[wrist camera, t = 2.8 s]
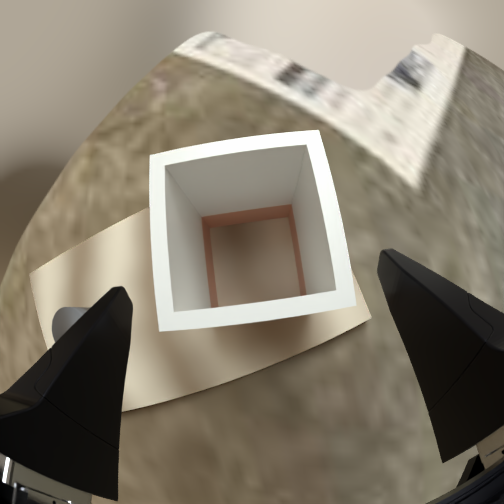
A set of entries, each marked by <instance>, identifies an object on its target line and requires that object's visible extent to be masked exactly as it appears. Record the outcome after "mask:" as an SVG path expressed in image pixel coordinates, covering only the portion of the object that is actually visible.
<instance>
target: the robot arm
mask: <svg viewBox="0 0 504 504" xmlns="http://www.w3.org/2000/svg"><path fill="white" fill-rule="evenodd" d="M377 273H378V277H379V280H380V283H381V285H382V288H383V291H384V294H385V297H386V301H387V304H388V307H389V309H390V312H391V315H392V317H393V319H394V321H395V324H396V326H397V329H398V331H399V333H400V336H401V338H402V341H403V343H404V345H405V348H406V350H407V353H408V356H409V358H410V361H411V363H412V366H413V369H414V371H415V374H416V377H417V380H418V383H419V385H420V388H421V391H422V394H423V397H424V400H425V403H426V406H427V410H428V412H429V416H430V420H431V423H432V427H433V430H434V434H435V437H436V441H437V445H438V448H439V452H440V456H441V460H442V463H444V462H446V461H448V460H450V459H452V458H454V457H456V456H457V455H459V454H461V453H463V452H465V451H466V450H468V449H470V448H471V447H473V446H475V445H476V447H477V450H478V453H479V454H477V455H476V456H474V457H473V458H471V459H469V460H468V463H467V465H466V467H465V470H464V472H463V474H462V477H461V479H460V481H459V483H458V485H457V487H456V488H455V489H453V490H451V491H450V492H448V493H446V494H444V495H442V496H440V497H438V498H436V499H434V500H432V501H430V502H428V503H426V504H504V313H502V312H500V311H499V310H497V309H495V308H493V307H491V306H490V305H488V304H486V303H485V302H483V301H481V300H480V299H478V298H476V297H475V296H473V295H472V294H470V293H467V291H465V290H464V289H462V288H460V287H459V286H457V285H455V284H454V283H452V282H450V281H449V280H447V279H445V278H444V277H442V276H440V275H439V274H437V273H435V272H433V271H432V270H430V269H428V268H426V267H425V266H423V265H421V264H419V263H418V262H416V261H414V260H412V259H410V258H409V257H407V256H405V255H403V254H401V253H399V252H398V251H396V250H394V249H384V250H382V251H381V252H380V256H379V262H378V268H377ZM132 317H133V304H132V301H131V299H130V297H129V295H128V293H127V291H126V289H125V288H124V287H123V286H115V287H112V288H111V289H110V290H109V291H108V292H107V293H105V294H104V295H103V296H102V297H101V298H100V299H99V300H98V301H97V302H96V303H95V304H94V305H93V306H92V307H91V308H90V309H89V310H87V311H86V312H85V313H84V314H83V315H82V316H81V317H80V318H79V319H78V320H77V321H76V322H75V323H74V324H73V325H72V326H71V327H70V328H69V329H68V330H67V331H66V332H65V333H64V334H63V335H62V336H61V337H60V338H59V339H58V340H57V341H56V342H55V343H54V344H53V345H52V348H50V349H49V350H48V351H47V352H46V353H45V354H44V355H43V356H42V357H41V358H40V359H39V360H38V361H37V362H36V363H35V364H34V365H33V366H32V367H31V368H30V369H29V370H28V371H27V372H26V373H25V374H24V375H23V376H22V377H20V378H19V379H18V380H17V381H16V382H15V383H14V384H13V385H12V386H11V387H10V388H9V389H8V390H7V391H5V392H4V393H2V394H0V504H91V501H92V495H96V496H99V497H103V498H106V499H110V500H114V501H118V463H119V450H118V449H119V439H120V425H121V414H122V404H123V395H124V386H125V378H126V371H127V364H128V358H129V351H130V344H131V330H132Z"/></svg>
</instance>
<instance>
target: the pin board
mask: <svg viewBox="0 0 504 504" xmlns="http://www.w3.org/2000/svg"><path fill="white" fill-rule="evenodd" d="M210 238H211V247H212V257H213V265H214V274H215V283H216V291H217V299H218V307H225V306H233V305H241V304H249V303H257V302H264V301H271V300H278V299H285V298H292V297H298V296H301V294H300V287H299V281H298V274H297V267H296V261H295V255H294V248H293V242H292V236H291V230H290V225H289V219H288V217H284V218H277V219H269V220H262V221H255V222H248V223H241V224H234V225H227V226H220V227H214V228H210ZM351 272H352V269H351ZM29 275H30V281H31V286H32V291H33V296H34V300H35V305H36V309H37V313H38V317H39V321H40V325H41V329H42V332H43V336H44V339H45V342H46V345H47V349H48V350H49V349H50V348H52V345H53V344H54V343H55V342H56V341H57V340H58V339H59V338H60V337H61V336H62V335H63V334H64V333H65V332H66V331H67V330H68V329H69V328H70V327H71V326H72V325H73V324H74V323H75V322H76V321H77V320H78V319H79V318H80V317H81V316H82V315H83V314H84V313H85V312H86V311H87V310H89V309H90V308H91V307H92V306H93V305H94V304H95V303H96V302H97V301H98V300H99V299H100V298H101V297H102V296H103V295H104V294H105V293H107V292H108V291H109V290H110V289H111V288H112V287H115V286H123V287H124V288H125V289H126V291H127V293H128V295H129V297H130V299H131V301H132V304H133V317H132V330H131V344H130V351H129V358H128V364H127V371H126V378H125V386H124V395H123V404H122V412H123V411H128V410H132V409H137V408H141V407H145V406H149V405H153V404H157V403H161V402H164V401H168V400H171V399H175V398H178V397H182V396H185V395H189V394H192V393H195V392H198V391H202V390H205V389H208V388H211V387H214V386H217V385H220V384H223V383H226V382H228V381H231V380H234V379H237V378H240V377H242V376H245V375H248V374H250V373H253V372H255V371H258V370H261V369H263V368H266V367H268V366H271V365H273V364H276V363H278V362H280V361H283V360H285V359H288V358H290V357H292V356H294V355H297V354H299V353H301V352H304V351H306V350H308V349H310V348H312V347H315V346H317V345H319V344H321V343H323V342H325V341H327V340H329V339H331V338H334V337H336V336H338V335H340V334H342V333H344V332H346V331H348V330H350V329H351V328H353V327H355V326H357V325H359V324H361V323H363V322H365V321H367V320H369V319H370V318H372V317H371V315H370V312H369V310H368V307H367V305H366V302H365V300H364V297H363V295H362V293H361V290H360V288H359V286H358V283H357V281H356V279H355V276H354V274H353V272H352V278H353V284H354V291H355V298H356V305H357V306H352V307H346V308H341V309H336V310H330V311H325V312H319V313H313V314H307V315H301V316H295V317H288V318H282V319H275V320H268V321H260V322H253V323H245V324H236V325H228V326H219V327H209V328H199V329H188V330H175V331H162V332H159V325H158V317H157V309H156V299H155V289H154V278H153V266H152V251H151V232H150V207H148V208H146V209H144V210H142V211H140V212H138V213H136V214H134V215H132V216H130V217H128V218H126V219H124V220H122V221H120V222H118V223H116V224H114V225H113V226H111V227H109V228H107V229H105V230H103V231H101V232H99V233H98V234H96V235H94V236H92V237H90V238H89V239H87V240H85V241H83V242H82V243H80V244H78V245H76V246H75V247H73V248H71V249H69V250H68V251H66V252H64V253H63V254H61V255H59V256H58V257H56V258H54V259H53V260H51V261H49V262H48V263H46V264H45V265H43V266H41V267H40V268H38V269H37V270H35V271H33V272H32V273H30V274H29Z"/></svg>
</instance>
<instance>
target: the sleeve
mask: <svg viewBox="0 0 504 504" xmlns="http://www.w3.org/2000/svg"><path fill="white" fill-rule="evenodd" d="M284 217H288V219H289V225H290V230H291V236H292V242H293V248H294V255H295V261H296V267H297V274H298V281H299V287H300V294H301V296H298V297H292V298H285V299H278V300H271V301H264V302H257V303H249V304H241V305H233V306H225V307H218V299H217V291H216V283H215V274H214V265H213V257H212V247H211V238H210V228H214V227H220V226H227V225H234V224H241V223H248V222H255V221H262V220H269V219H277V218H284ZM150 232H151V251H152V266H153V278H154V289H155V299H156V309H157V317H158V325H159V332H162V331H175V330H188V329H199V328H209V327H219V326H228V325H236V324H245V323H253V322H260V321H268V320H275V319H282V318H288V317H295V316H301V315H307V314H313V313H319V312H325V311H330V310H336V309H341V308H346V307H352V306H357V305H356V298H355V291H354V284H353V278H352V272H351V266H350V260H349V255H348V249H347V244H346V239H345V234H344V229H343V224H342V219H341V215H340V210H339V206H338V201H337V197H336V193H335V188H334V184H333V180H332V176H331V172H330V169H329V165H328V161H327V157H326V154H325V150H324V147H323V143H322V140H321V136H320V133H319V130H312V131H299V132H287V133H277V134H268V135H259V136H252V137H244V138H237V139H230V140H224V141H218V142H212V143H206V144H201V145H196V146H190V147H185V148H180V149H176V150H171V151H167V152H162V153H158V154H154V155H150Z"/></svg>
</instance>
